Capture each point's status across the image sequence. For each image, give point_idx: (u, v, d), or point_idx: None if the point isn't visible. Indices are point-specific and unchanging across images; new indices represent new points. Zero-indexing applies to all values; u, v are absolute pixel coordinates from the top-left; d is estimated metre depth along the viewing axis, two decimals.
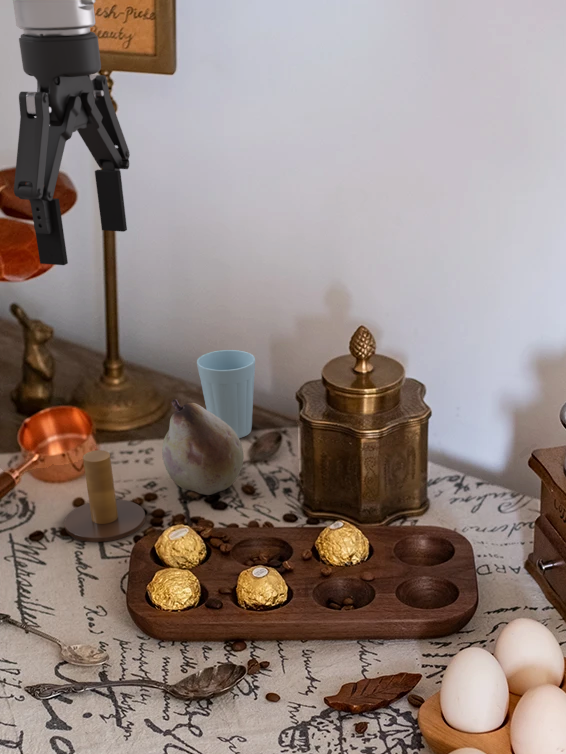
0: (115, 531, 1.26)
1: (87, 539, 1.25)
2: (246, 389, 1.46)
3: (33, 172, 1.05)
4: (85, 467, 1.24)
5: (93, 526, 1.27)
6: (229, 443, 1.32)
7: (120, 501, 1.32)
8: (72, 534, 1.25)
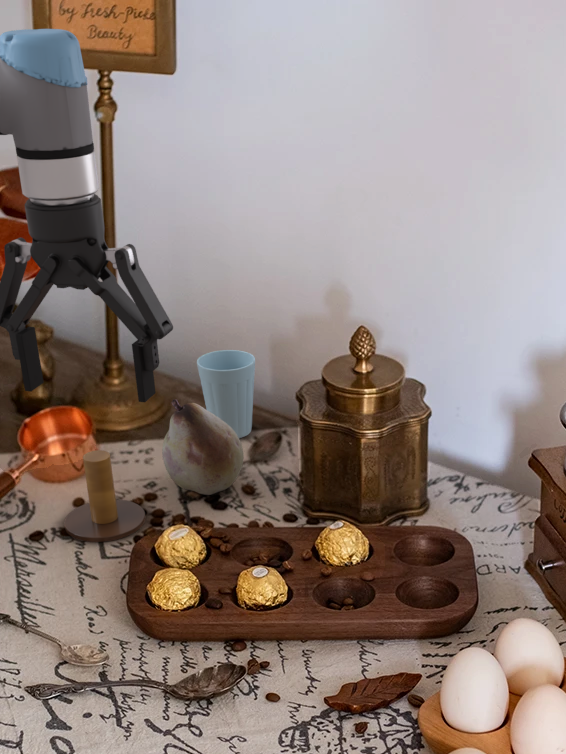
0: (115, 531, 1.26)
1: (87, 539, 1.25)
2: (246, 389, 1.46)
3: (162, 311, 1.15)
4: (85, 467, 1.24)
5: (93, 526, 1.27)
6: (229, 443, 1.32)
7: (120, 501, 1.32)
8: (72, 534, 1.25)
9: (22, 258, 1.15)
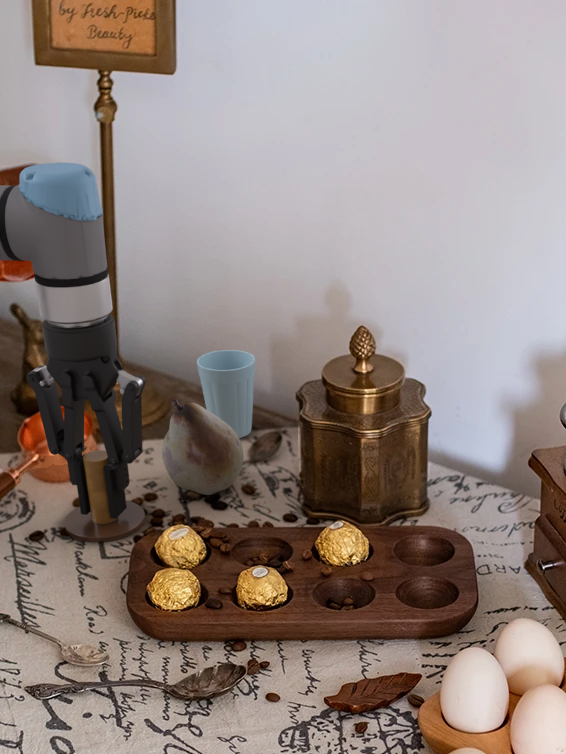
0: (115, 531, 1.26)
1: (87, 539, 1.25)
2: (246, 389, 1.46)
3: (140, 439, 1.23)
4: (85, 467, 1.24)
5: (93, 526, 1.27)
6: (229, 443, 1.32)
7: None
8: (72, 534, 1.25)
9: (45, 381, 1.21)
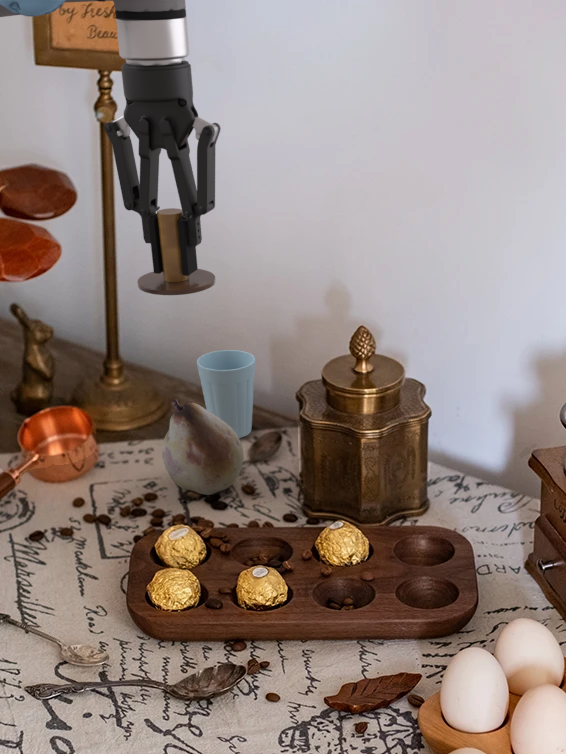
0: (188, 286, 1.29)
1: (161, 292, 1.28)
2: (246, 389, 1.46)
3: (213, 191, 1.26)
4: (159, 222, 1.28)
5: (166, 283, 1.30)
6: (229, 443, 1.32)
7: None
8: (146, 289, 1.29)
9: (122, 131, 1.24)
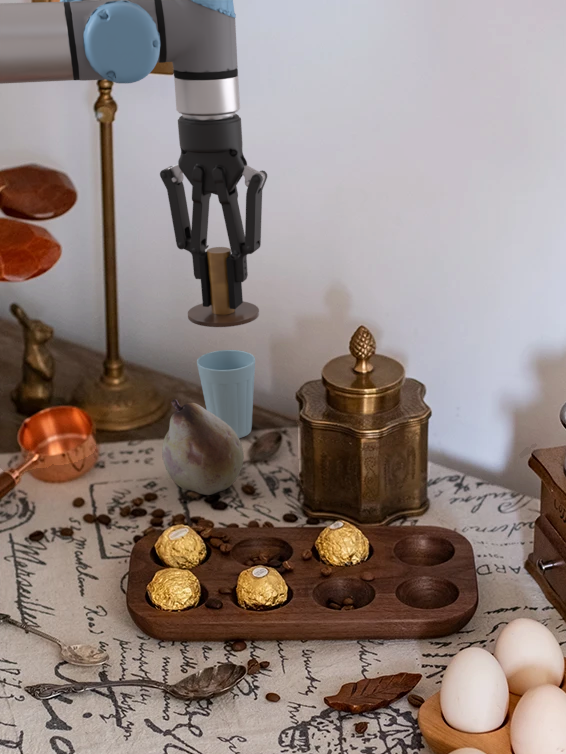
0: (235, 319, 1.40)
1: (211, 324, 1.39)
2: (246, 389, 1.46)
3: (259, 232, 1.38)
4: (209, 260, 1.39)
5: (214, 316, 1.41)
6: (229, 443, 1.32)
7: None
8: (196, 321, 1.40)
9: (177, 177, 1.36)
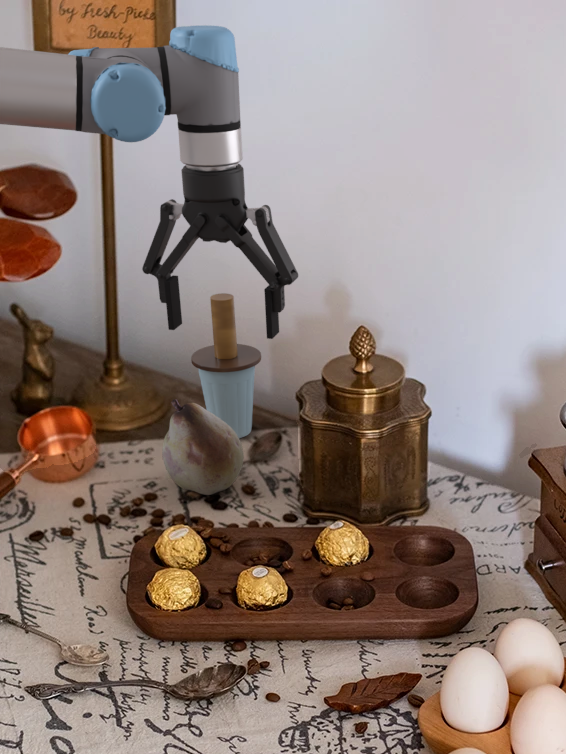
0: (237, 364, 1.43)
1: (214, 370, 1.42)
2: (246, 389, 1.46)
3: (290, 262, 1.38)
4: (212, 306, 1.42)
5: (217, 361, 1.44)
6: (229, 443, 1.32)
7: (237, 344, 1.49)
8: (200, 366, 1.43)
9: (174, 216, 1.38)
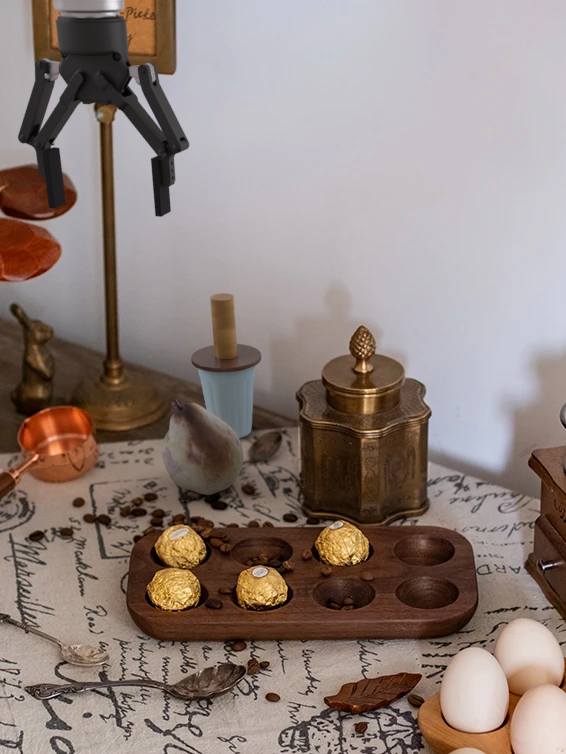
0: (237, 364, 1.43)
1: (214, 370, 1.42)
2: (246, 389, 1.46)
3: (180, 128, 1.25)
4: (212, 306, 1.42)
5: (217, 361, 1.44)
6: (229, 443, 1.32)
7: (237, 344, 1.49)
8: (200, 366, 1.43)
9: (51, 75, 1.24)
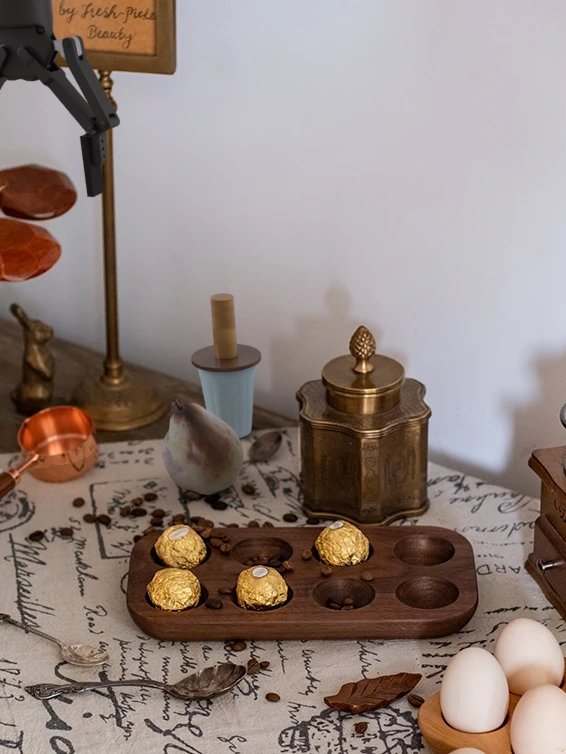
0: (237, 364, 1.43)
1: (214, 370, 1.42)
2: (246, 389, 1.46)
3: (109, 104, 1.20)
4: (212, 306, 1.42)
5: (217, 361, 1.44)
6: (229, 443, 1.32)
7: (237, 344, 1.49)
8: (200, 366, 1.43)
9: None
